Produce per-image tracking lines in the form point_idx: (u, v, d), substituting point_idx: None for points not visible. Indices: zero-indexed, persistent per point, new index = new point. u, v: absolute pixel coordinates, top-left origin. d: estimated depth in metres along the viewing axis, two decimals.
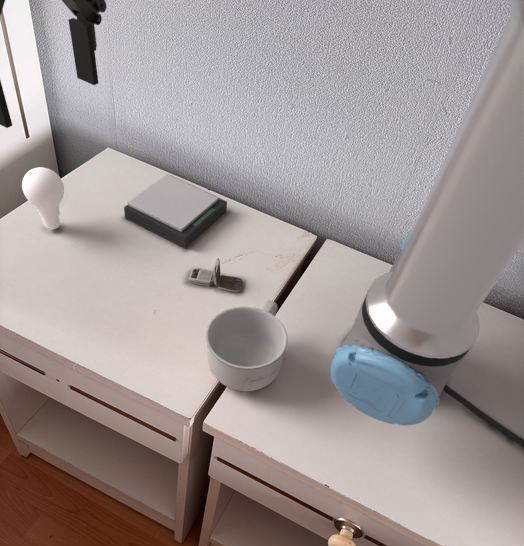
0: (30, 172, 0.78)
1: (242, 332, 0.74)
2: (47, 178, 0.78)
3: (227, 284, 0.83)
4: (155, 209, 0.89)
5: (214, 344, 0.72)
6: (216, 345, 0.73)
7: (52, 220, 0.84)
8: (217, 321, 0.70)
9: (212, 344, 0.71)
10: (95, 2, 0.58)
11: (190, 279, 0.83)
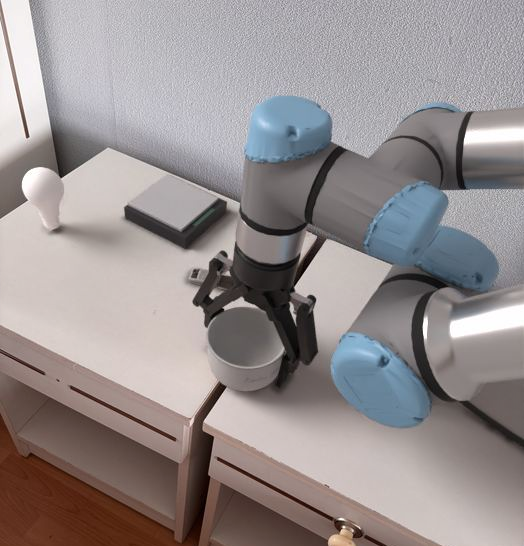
0: (30, 172, 0.78)
1: (242, 332, 0.74)
2: (47, 178, 0.78)
3: (227, 284, 0.83)
4: (155, 209, 0.89)
5: (214, 344, 0.72)
6: (216, 345, 0.73)
7: (52, 220, 0.84)
8: (217, 321, 0.70)
9: (212, 344, 0.71)
10: (301, 355, 0.65)
11: (190, 279, 0.83)
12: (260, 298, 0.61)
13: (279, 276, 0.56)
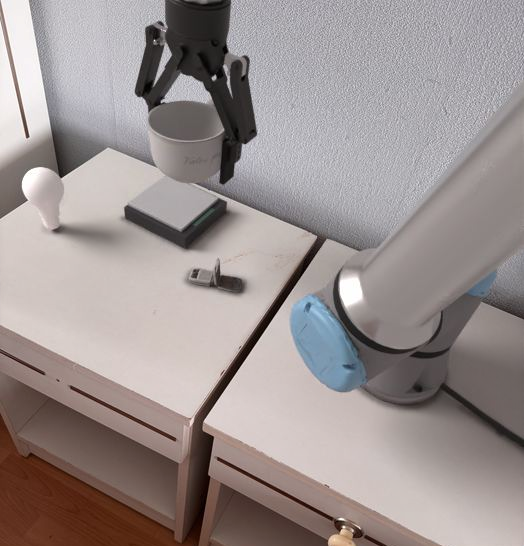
0: (30, 172, 0.78)
1: (188, 135, 0.75)
2: (47, 178, 0.78)
3: (227, 284, 0.83)
4: (155, 209, 0.89)
5: None
6: None
7: (52, 220, 0.84)
8: (159, 112, 0.70)
9: None
10: (239, 131, 0.66)
11: (190, 279, 0.83)
12: (194, 59, 0.62)
13: (208, 18, 0.57)
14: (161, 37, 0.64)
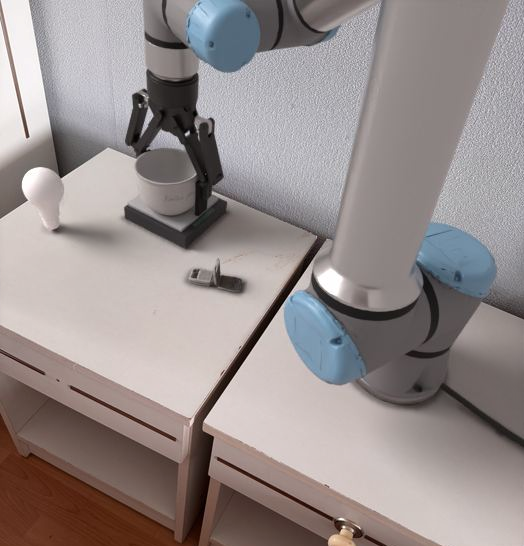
0: (30, 172, 0.78)
1: (169, 175, 0.91)
2: (47, 178, 0.78)
3: (227, 284, 0.83)
4: None
5: None
6: None
7: (52, 220, 0.84)
8: (145, 157, 0.86)
9: None
10: (208, 175, 0.82)
11: (190, 279, 0.83)
12: (170, 120, 0.77)
13: (179, 92, 0.73)
14: (145, 102, 0.79)
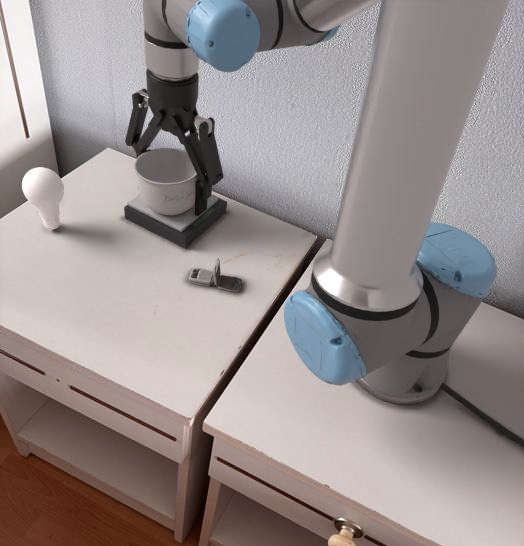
0: (30, 172, 0.78)
1: (169, 175, 0.91)
2: (47, 178, 0.78)
3: (227, 284, 0.83)
4: None
5: None
6: None
7: (52, 220, 0.84)
8: (145, 157, 0.86)
9: None
10: (208, 175, 0.82)
11: (190, 279, 0.83)
12: (170, 120, 0.77)
13: (179, 91, 0.73)
14: (145, 101, 0.79)
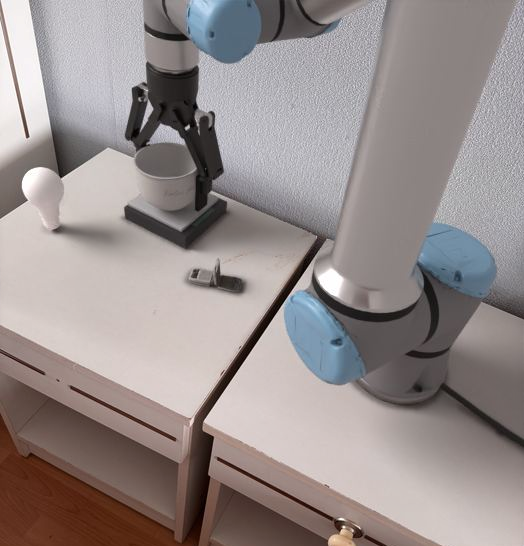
0: (30, 172, 0.78)
1: (169, 170, 0.90)
2: (47, 178, 0.78)
3: (227, 284, 0.83)
4: (155, 209, 0.89)
5: None
6: None
7: (52, 220, 0.84)
8: (145, 152, 0.85)
9: None
10: (208, 170, 0.81)
11: (190, 279, 0.83)
12: (170, 114, 0.77)
13: (179, 84, 0.72)
14: (144, 95, 0.79)
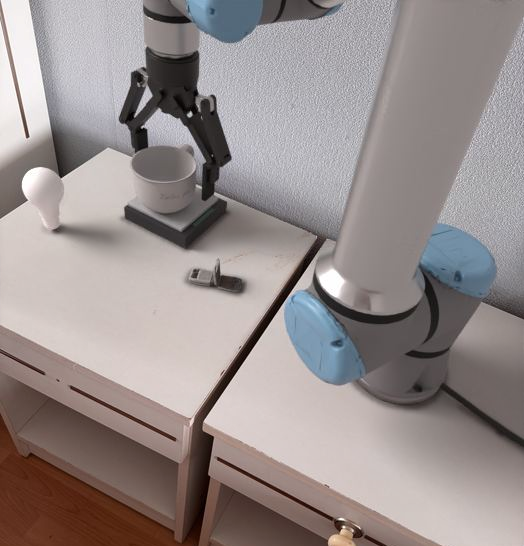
0: (30, 172, 0.78)
1: (165, 172, 0.91)
2: (47, 178, 0.78)
3: (227, 284, 0.83)
4: None
5: None
6: None
7: (52, 220, 0.84)
8: (141, 155, 0.86)
9: None
10: (215, 157, 0.79)
11: (190, 279, 0.83)
12: (171, 101, 0.75)
13: (179, 69, 0.70)
14: (144, 81, 0.77)
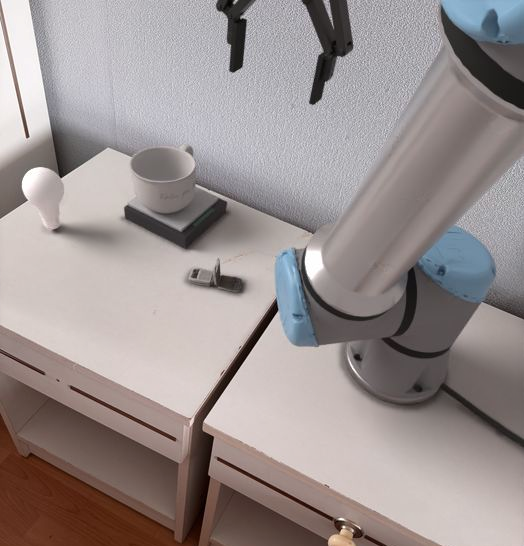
0: (30, 172, 0.78)
1: (165, 173, 0.91)
2: (47, 178, 0.78)
3: (227, 284, 0.83)
4: None
5: None
6: None
7: (52, 220, 0.84)
8: (141, 156, 0.86)
9: None
10: (337, 44, 0.67)
11: (190, 279, 0.83)
12: None
13: None
14: None
